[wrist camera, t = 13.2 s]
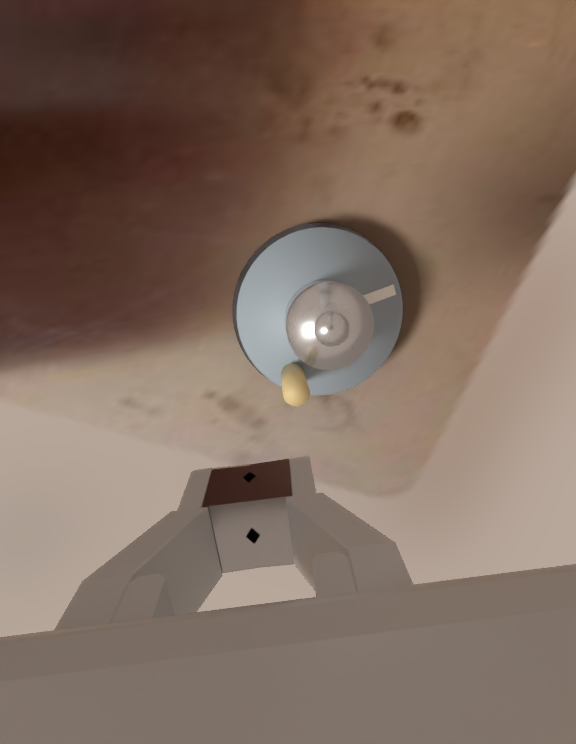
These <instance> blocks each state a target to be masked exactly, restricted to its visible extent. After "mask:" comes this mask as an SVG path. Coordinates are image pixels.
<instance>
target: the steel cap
mask: <svg viewBox="0 0 576 744" xmlns="http://www.w3.org/2000/svg"><path fill="white" fill-rule="evenodd" d="M284 323H285V329H286V333H287V338H288V341H289V344H290V346H291V348H292V350H293V351H294V353H295V354H296V355H297V357H298V358H299V359H300V360H302V361H303V362H304V363H306V364H307V365H309V366H311V367H314V368H317V369H321V370H336V369H341V368H344V367H346V366H348V365H350V364H352V363H354V362H355V361H356V360H358V359H359V358H360V357H361V356H362V355H363V354H364V352H365V351H366V350H367V348H368V346H369V345H370V342H371V340H372V337H373V332H374V316H373V313H372V309H371V307H370V305H369V303H368V301H367V300H366V299H365V297H364V296H363V295H362V294H361V293H360V292H358V291H357V290H356V289H354V288H352V287H350V286H348V285H345V284H342V283H338V282H335V281H330V280H318V281H314V282H311V283H308V284H306V285H304V286H303V287H301V288H300V289H299V290H298V291H296V292H295V294H294V295H293V296H292V297H291V299H290V301H289V303H288V305H287V307H286V311H285V317H284Z"/></svg>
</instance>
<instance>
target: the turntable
mask: <svg viewBox="0 0 576 744" xmlns="http://www.w3.org/2000/svg"><path fill="white" fill-rule="evenodd" d="M318 280H330V281H335V282H338V283H342V284H345V285H348V286H350V287H352V288H354V289H356V290H357V291H358V292H360V293H361V294H362V295H363V296H364V297H365V299H366V300H367V301H368V303H369V305H370V307H371V309H372V313H373V316H374V332H373V337H372V340H371V342H370V345H369V346H368V348H367V350H366V351H365V352H364V354H363V355H362V356H361V357H360V358H359V359H358V360H356V361H355V362H354V363H352V364H350V365H348V366H346V367H344V368H341V369H336V370H321V369H317V368H314V367H311V366H309V365H307V364H306V363H304V362H303V361H302V360H300V359H299V358H298V357H297V355H296V354H295V353H294V351H293V350H292V348H291V346H290V344H289V341H288V338H287V333H286V329H285V323H284V317H285V311H286V307H287V305H288V303H289V301H290V299H291V297H292V296H293V295H294V294H295V292H296V291H298V290H299V289H300V288H301V287H303V286H304V285H306V284H308V283H311V282H314V281H318ZM402 317H403V302H402V293H401V289H400V285H399V282H398V279H397V277H396V274H395V272H394V270H393V269H392V267H391V265H390V263H389V262H388V261H387V259H386V258H385V257H384V255H383V254H382V253H381V252H380V251H379V250H378V249H377V248H376V247H375V246H373V245H372V244H371V243H369V242H368V241H367V240H365V239H363V238H361V237H360V236H358V235H356V234H353V233H351V232H348V231H345V230H341V229H336V228H326V227H319V228H309V229H304V230H299V231H297V232H294V233H291V234H288V235H286V236H284V237H283V238H281V239H279V240H277V241H276V242H274V243H273V244H271V245H270V246H269V247H268V248H267V249H265V250H264V251H263V252H262V253H261V254H260V255H259V256H258V258H257V259H256V260H255V261H254V263H253V264H252V265H251V267H250V269H249V270H248V272H247V273H246V276H245V278H244V280H243V282H242V285H241V288H240V292H239V295H238V301H237V316H236V318H237V327H238V332H239V336H240V340H241V342H242V345H243V347H244V350H245V351H246V353H247V355H248V357H249V359H250V360H251V361H252V363H253V364H254V365H255V367H256V368H257V369H258V370H259V371H260V372H261V373H262V374H263V375H264V376H265V377H267V378H268V379H269V380H270V381H272V382H274V383H275V384H277V385H279V386H281V387H282V389H283V397H284V399H285V401H286V402H287V403H288V404H290V405H292V406H300V405H303V404H304V403H306V402H307V400H308V399H309V396H310V395H328V394H333V393H338V392H341V391H344V390H347V389H350V388H352V387H354V386H356V385H358V384H360V383H361V382H363V381H364V380H366V379H367V378H369V377H370V376H371V375H372V374H373V373H375V372H376V371H377V370H378V369H379V368H380V366H381V365H382V364H383V363H384V362H385V360H386V359H387V358H388V356H389V355H390V353H391V351H392V349H393V348H394V345H395V343H396V341H397V338H398V335H399V332H400V328H401V323H402Z"/></svg>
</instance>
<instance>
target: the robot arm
mask: <svg viewBox="0 0 576 744" xmlns="http://www.w3.org/2000/svg"><path fill="white" fill-rule="evenodd" d="M289 461H290V463H289ZM291 564H295V566H296V568H297V569H298V570H299V571H300V573H301V574H302V575H303V576H304V578H305V579H306V580H307V581H308V583H309V584H310V585H311V586H312V588H313V589H314V590H315V591H316V597H313V598H306V599H297V600H289V601H282V602H274V603H266V604H259V605H251V606H243V607H235V608H227V609H219V610H211V611H204V612H197V611H198V609H199V608H200V606H201V605H202V604H203V602H204V601H205V599H206V598H207V596H208V595H209V594H210V592H211V591H212V589H213V588H214V587H215V585H216V584H217V582H218V581H219V579H220V578H221V577H222V573H227V572H233V571H240V570H246V569H253V568H259V567H270V566H280V565H291ZM0 744H576V564H572V565H564V566H556V567H549V568H541V569H533V570H525V571H517V572H509V573H501V574H494V575H486V576H478V577H470V578H463V579H455V580H447V581H439V582H431V583H423V584H415V585H413V583H412V580H411V578H410V576H409V573H408V571H407V569H406V567H405V564H404V562H403V560H402V557H401V555H400V552H399V550H398V548H397V546H396V543H395V542H393V541H392V540H391V539H389V538H388V537H386V536H385V535H383V534H382V533H380V532H379V531H377V530H376V529H374V528H373V527H371V526H370V525H369V524H367V523H366V522H364V521H363V520H361V519H360V518H358V517H357V516H355V515H354V514H353V513H351V512H350V511H348V510H347V509H345V508H344V507H342V506H341V505H339V504H338V503H336V502H335V501H334V500H332V499H331V498H329V497H327V496H326V495H325V494H323V493H316V489H315V483H314V478H313V473H312V468H311V463H310V458H309V456H304V457H298V458H292V459H284V460H278V461H271V462H264V463H258V464H246V465H237V466H227V467H218V468H207V469H200V470H194V471H192V473H191V475H190V478H189V481H188V483H187V486H186V489H185V491H184V494H183V497H182V499H181V502H180V505H179V508H178V510H177V511H172V512H170V513H169V514H168V515H166V516H165V517H164V518H163V519H161V520H160V521H159V522H157V523H156V524H155V525H154V526H152V527H151V528H150V529H148V530H147V531H146V532H145V533H143V534H142V535H141V536H140V537H138V538H137V539H136V540H134V541H133V542H132V543H131V544H129V545H128V546H127V547H126V548H124V549H123V550H122V551H120V552H119V553H118V554H117V555H115V556H114V557H113V558H112V559H110V560H109V561H108V562H106V563H105V564H104V565H103V566H101V567H100V568H99V569H98V570H96V571H95V572H94V573H92V574H91V575H90V576H89V577H87V578H86V579H85V580H84V581H83V582H82V583H81V585H80V586H79V588H78V590H77V592H76V593H75V595H74V597H73V599H72V600H71V602H70V604H69V605H68V607H67V609H66V611H65V612H64V614H63V616H62V618H61V619H60V621H59V623H58V625H57V626H56V628H55V630H54V631H47V632H38V633H30V634H22V635H15V636H7V637H0Z"/></svg>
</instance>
